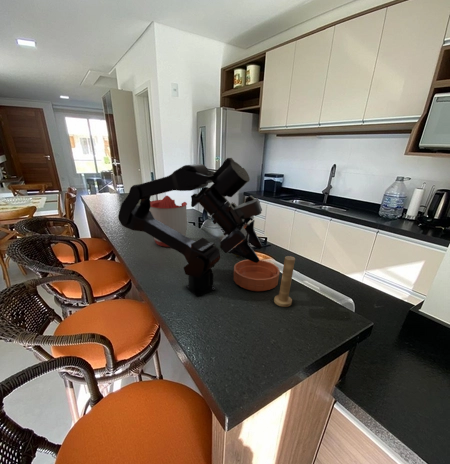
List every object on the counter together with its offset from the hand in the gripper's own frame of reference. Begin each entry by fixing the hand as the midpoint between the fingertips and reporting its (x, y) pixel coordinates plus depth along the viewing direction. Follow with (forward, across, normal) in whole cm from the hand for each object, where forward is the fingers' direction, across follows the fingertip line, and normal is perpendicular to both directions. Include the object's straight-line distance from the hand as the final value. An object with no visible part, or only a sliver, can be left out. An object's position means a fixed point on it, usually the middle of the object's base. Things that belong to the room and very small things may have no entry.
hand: (259, 254), depth 64 cm
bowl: (+9, +10, +10) cm, 17 cm away
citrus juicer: (-19, +35, +38) cm, 55 cm away
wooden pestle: (+15, 0, +4) cm, 16 cm away
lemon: (+3, +28, +16) cm, 32 cm away
